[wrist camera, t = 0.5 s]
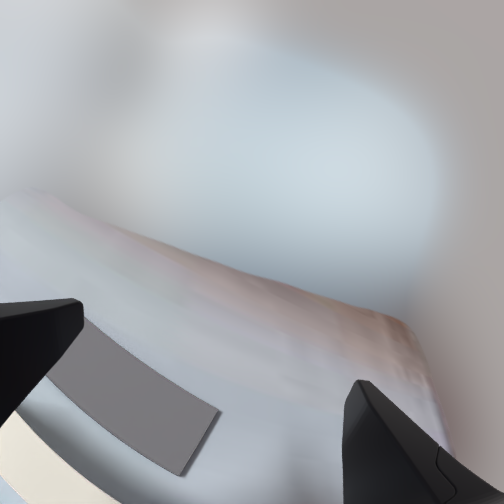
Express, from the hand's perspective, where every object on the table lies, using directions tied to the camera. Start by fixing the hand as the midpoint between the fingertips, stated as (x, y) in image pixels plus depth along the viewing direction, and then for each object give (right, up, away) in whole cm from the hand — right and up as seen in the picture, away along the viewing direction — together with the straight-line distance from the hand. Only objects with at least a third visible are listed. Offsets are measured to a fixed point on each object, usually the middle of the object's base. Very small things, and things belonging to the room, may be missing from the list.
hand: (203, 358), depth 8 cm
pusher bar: (-13, -12, +3) cm, 18 cm away
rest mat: (-10, -8, +11) cm, 17 cm away
